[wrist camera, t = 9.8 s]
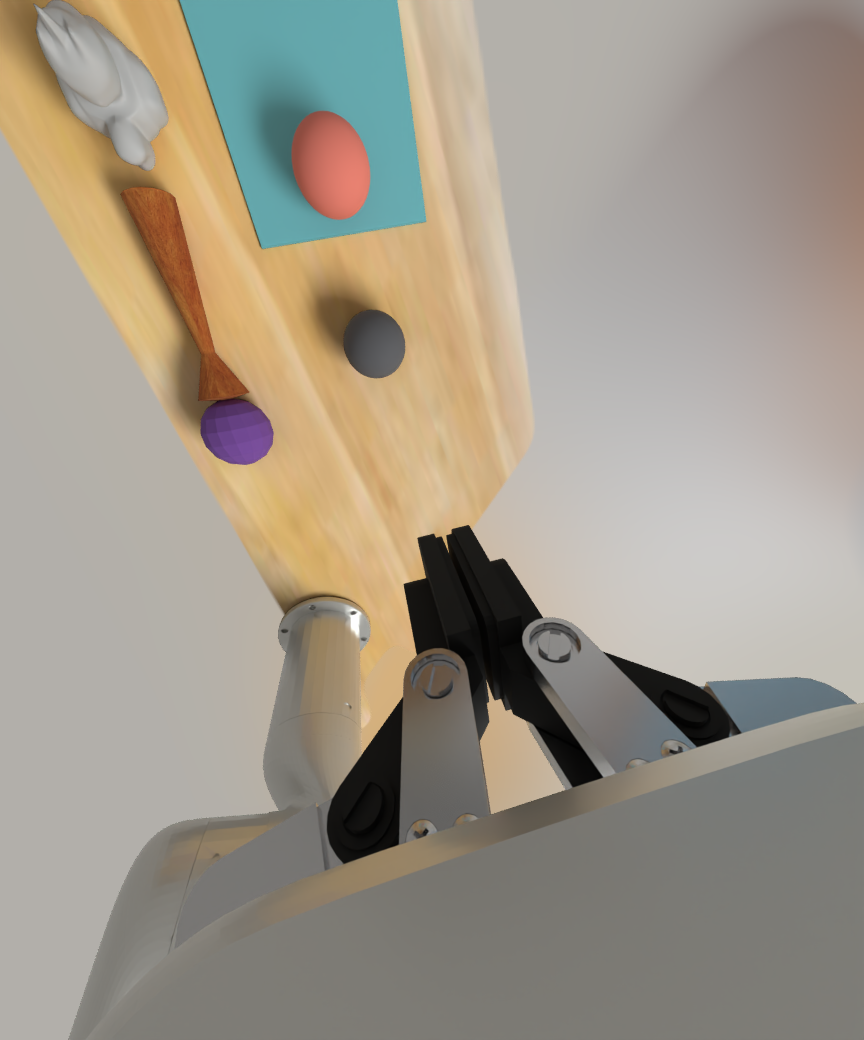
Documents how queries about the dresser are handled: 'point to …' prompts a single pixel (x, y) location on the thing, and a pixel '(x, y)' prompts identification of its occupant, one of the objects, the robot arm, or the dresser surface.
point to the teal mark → (310, 104)
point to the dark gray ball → (374, 344)
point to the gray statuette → (103, 81)
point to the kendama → (199, 333)
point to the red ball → (330, 165)
